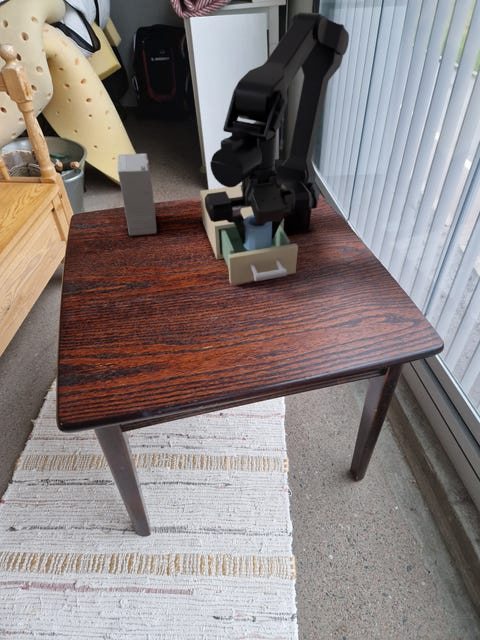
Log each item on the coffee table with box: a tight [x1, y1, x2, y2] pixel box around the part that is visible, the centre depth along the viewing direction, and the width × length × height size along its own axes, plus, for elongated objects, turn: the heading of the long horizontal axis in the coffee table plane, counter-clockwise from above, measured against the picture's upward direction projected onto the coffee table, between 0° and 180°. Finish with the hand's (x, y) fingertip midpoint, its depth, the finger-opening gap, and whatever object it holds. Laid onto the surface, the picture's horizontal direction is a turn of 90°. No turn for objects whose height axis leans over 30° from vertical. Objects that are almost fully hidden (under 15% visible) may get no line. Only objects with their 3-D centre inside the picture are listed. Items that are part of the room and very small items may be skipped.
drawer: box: [219, 226, 299, 285], centre depth 84 cm, size 19×13×6 cm
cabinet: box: [199, 184, 284, 260], centre depth 93 cm, size 16×15×8 cm
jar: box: [243, 215, 272, 251], centre depth 81 cm, size 5×6×5 cm
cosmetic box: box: [117, 153, 157, 237], centre depth 94 cm, size 8×7×16 cm
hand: (257, 240), depth 82 cm, fingers closed on jar, 5 cm apart
